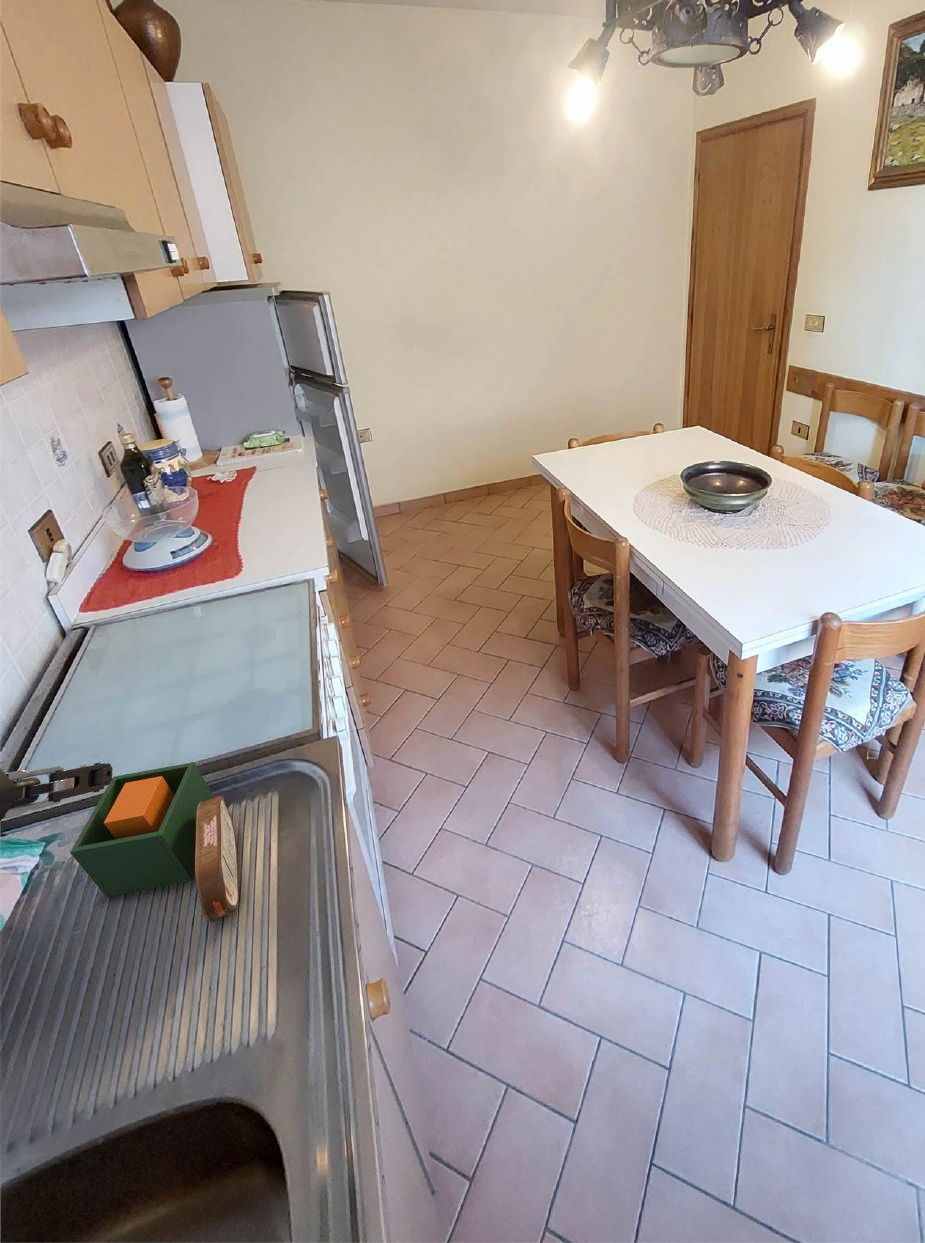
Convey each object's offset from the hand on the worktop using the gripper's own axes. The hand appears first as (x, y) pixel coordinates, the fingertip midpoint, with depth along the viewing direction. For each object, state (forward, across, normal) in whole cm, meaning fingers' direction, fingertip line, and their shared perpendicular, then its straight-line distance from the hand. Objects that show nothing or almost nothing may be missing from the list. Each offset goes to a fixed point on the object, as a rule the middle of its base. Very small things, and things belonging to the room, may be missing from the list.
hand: (65, 782), depth 62 cm
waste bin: (+19, 0, +11) cm, 22 cm away
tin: (+15, -10, +15) cm, 23 cm away
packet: (+18, 0, +11) cm, 21 cm away
